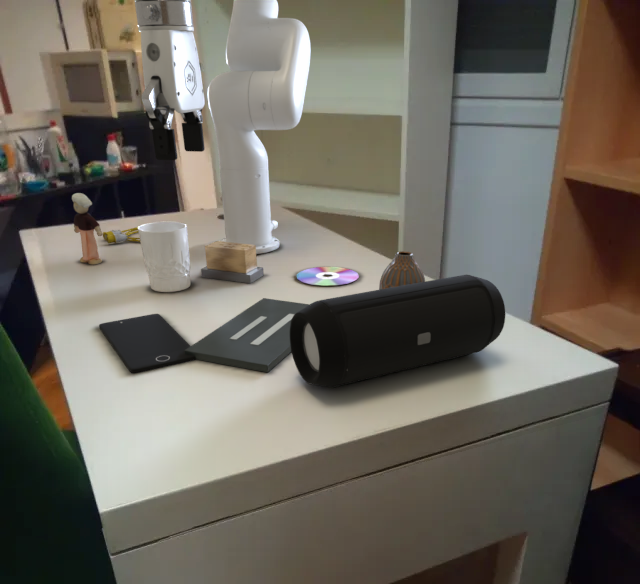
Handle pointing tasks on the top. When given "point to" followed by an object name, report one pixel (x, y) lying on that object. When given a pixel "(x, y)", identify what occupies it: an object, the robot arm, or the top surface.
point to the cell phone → (146, 343)
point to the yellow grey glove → (120, 236)
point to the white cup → (166, 255)
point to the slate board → (251, 337)
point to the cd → (317, 278)
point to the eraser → (231, 262)
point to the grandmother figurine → (86, 229)
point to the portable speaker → (394, 329)
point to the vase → (401, 271)
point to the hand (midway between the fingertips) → (181, 155)
